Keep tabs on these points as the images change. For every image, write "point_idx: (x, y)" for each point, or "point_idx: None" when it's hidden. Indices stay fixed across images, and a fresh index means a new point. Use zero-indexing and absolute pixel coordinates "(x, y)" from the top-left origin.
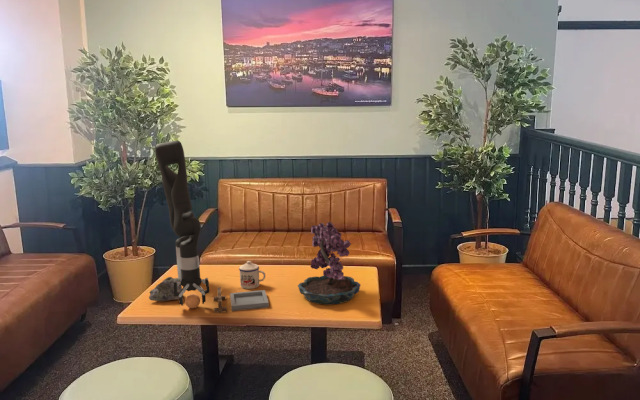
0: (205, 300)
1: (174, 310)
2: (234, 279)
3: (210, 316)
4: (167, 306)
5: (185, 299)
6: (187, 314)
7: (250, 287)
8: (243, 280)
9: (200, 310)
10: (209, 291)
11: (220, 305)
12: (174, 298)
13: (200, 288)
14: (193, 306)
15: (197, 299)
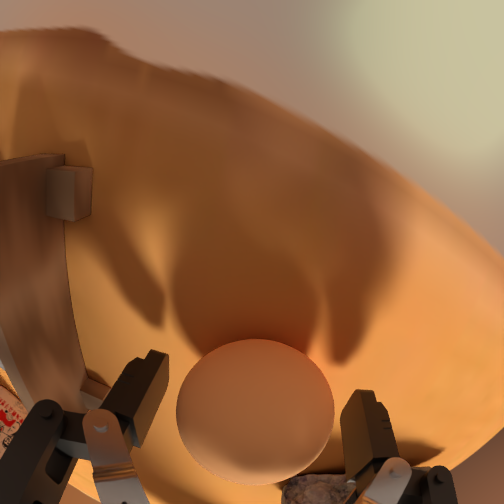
0: (126, 366)
1: (407, 369)
2: (83, 471)
3: (134, 87)
4: (406, 427)
5: (327, 440)
6: (350, 242)
7: (3, 392)
8: (10, 429)
9: (205, 284)
10: (32, 409)
11: (3, 161)
12: (343, 478)
13: (102, 500)
14: (264, 341)
15: (198, 395)
